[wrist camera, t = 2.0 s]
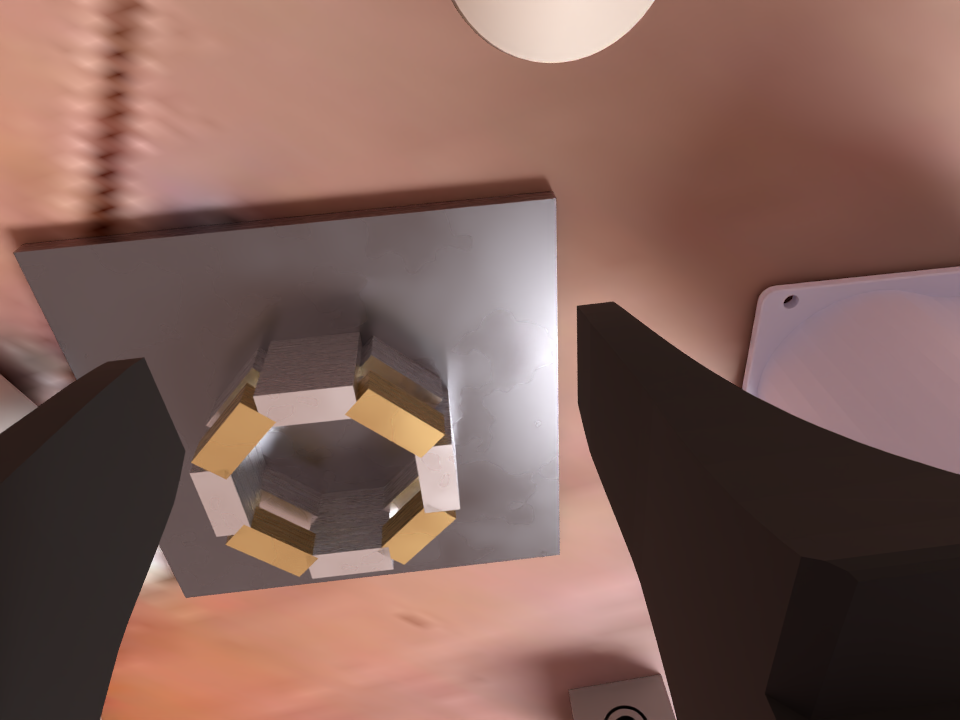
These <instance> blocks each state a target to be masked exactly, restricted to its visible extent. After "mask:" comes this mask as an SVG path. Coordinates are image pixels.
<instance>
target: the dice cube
mask: <svg viewBox="0 0 960 720" xmlns="http://www.w3.org/2000/svg"><path fill="white" fill-rule="evenodd" d="M569 696H570V703H571V709H572V715H573V720H676V719H675V716H674V713H673V710H672V707H671V704H670V701H669V698H668V695H667V691H666V688H665V685H664V682H663V679H662V676H661V674H659V675H653V676H647V677H641V678H636V679H630V680H624V681H618V682H612V683H606V684H600V685H594V686H589V687H583V688H577V689H571V690H569Z"/></svg>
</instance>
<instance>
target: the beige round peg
mask: <svg viewBox="0 0 960 720" xmlns="http://www.w3.org/2000/svg"><path fill="white" fill-rule="evenodd" d="M452 2H453V4H454V6H455V8H456V9H457V11H458V12H459V13H460V15H461V16H462V18H463V19H464V20H465V22H466V23H467V24H468V25H469V26H470V27H471V28H472V29H473V30H474V31H475V32H476V34H478V35H479V36H480V37H481V38H483V39H484V40H485V41H486V42H487V43H489V44H490V45H492V46H494V47H495V48H497V49H499V50H500V51H502V52H505V53H507V54H509V55H511V56H514V57H517V58H521V59H524V60H528V61H534V62H542V63H562V62H568V61H574V60H578V59H581V58H584V57H587V56H590V55H592V54H595V53H597V52H599V51H601V50H603V49H605V48H606V47H608V46H610V45H611V44H613V43H614V42H616V41H617V40H619V39H620V38H621V37H622V36H624V35H625V34H626V33H627V32H629V31H630V30H631V29H632V28H633V27H634V25H635V24H636V23H637V22H638V21H639V20H640V19H641V18H642V17H643V16H644V14H645V13H646V12H647V10H648V9H649V8H650V7H651V5H652V4H653V2H654V0H452Z"/></svg>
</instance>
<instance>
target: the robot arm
mask: <svg viewBox="0 0 960 720" xmlns="http://www.w3.org/2000/svg"><path fill="white" fill-rule="evenodd" d="M791 295H794V296H793V298H792V299H791V300H790V301H789V302H787V303H784V301H785V299H786V298H787V297H788V296H791ZM577 363H578V406H579V410H580V414H581V418H582V423H583V427H584V431H585V435H586V439H587V442H588V446H589V450H590V453H591V456H592V459H593V461H594V464H595V466H596V469H597V472H598V474H599V477H600V479H601V482H602V484H603V487H604V489H605V492H606V495H607V497H608V500H609V502H610V505H611V507H612V510H613V512H614V515H615V517H616V520H617V522H618V525H619V527H620V530H621V532H622V535H623V537H624V540H625V542H626V545H627V547H628V550H629V552H630V555H631V557H632V560H633V563H634V566H635V569H636V572H637V574H638V577H639V580H640V583H641V587H642V590H643V594H644V597H645V601H646V604H647V608H648V612H649V615H650V619H651V622H652V626H653V629H654V633H655V637H656V640H657V644H658V648H659V652H660V655H661V659H662V663H663V667H664V671H665V674H666V678H667V682H668V686H669V689H670V693H671V697H672V701H673V705H674V709H675V713H676V717H677V720H960V266H958V267H948V268H939V269H929V270H920V271H910V272H901V273H891V274H882V275H872V276H863V277H853V278H843V279H834V280H824V281H815V282H805V283H796V284H786V285H777V286H772V287H769V288H767V289H766V290H764V291H763V292H762V293H761V294H760V296H759V299H758V302H757V308H756V314H755V319H754V325H753V330H752V336H751V342H750V347H749V353H748V358H747V364H746V369H745V375H744V381H743V386H742V389H741V388H739V387H737V386H735V385H734V384H732V383H730V382H729V381H727V380H725V379H724V378H722V377H721V376H719V375H717V374H716V373H714V372H712V371H711V370H709V369H707V368H706V367H704V366H703V365H701V364H700V363H698V362H696V361H695V360H693V359H692V358H690V357H689V356H687V355H686V354H684V353H683V352H682V351H680V350H679V349H677V348H676V347H674V346H673V345H672V344H670V343H669V342H667V341H666V340H665V339H663V338H662V337H660V336H659V335H658V334H656V333H655V332H654V331H652V330H651V329H650V328H648V327H647V326H646V325H644V324H643V323H642V322H640V321H639V320H638V319H636V318H635V317H634V316H632V315H631V314H630V313H628V312H627V311H626V310H624V309H623V308H622V307H620V306H619V305H617V304H616V303H615V302H606V303H598V304H589V305H581V306H577ZM184 456H185V449H184V446H183V444H182V442H181V439H180V437H179V435H178V433H177V430H176V428H175V426H174V424H173V421H172V419H171V417H170V415H169V412H168V410H167V408H166V405H165V403H164V401H163V399H162V396H161V394H160V392H159V390H158V387H157V385H156V383H155V381H154V378H153V376H152V374H151V372H150V369H149V367H148V365H147V362H146V360H145V358H144V357H142V358H133V359H125V360H116V361H108V362H106V363H104V364H102V365H100V366H98V367H96V368H95V369H93V370H91V371H90V372H88V373H87V374H85V375H84V376H82V377H80V378H79V379H77V380H76V381H74V382H73V383H71V384H70V385H69V386H67V387H66V388H64V389H63V390H61V391H60V392H58V393H57V394H56V395H54V396H53V397H51V398H50V399H48V400H47V401H46V402H44V403H43V404H41V405H40V406H39V407H37V408H36V409H34V410H33V411H31V412H30V413H29V414H27V415H26V416H24V417H23V418H22V419H20V420H19V421H17V422H16V423H14V424H13V425H12V426H10V427H9V428H7V429H6V430H5V431H3V432H2V433H0V720H100V718H101V714H102V709H103V706H104V702H105V698H106V695H107V691H108V687H109V683H110V680H111V676H112V672H113V669H114V665H115V661H116V657H117V654H118V650H119V647H120V644H121V641H122V638H123V635H124V633H125V630H126V627H127V624H128V621H129V618H130V616H131V613H132V611H133V608H134V606H135V603H136V601H137V598H138V596H139V593H140V591H141V588H142V585H143V583H144V580H145V578H146V575H147V573H148V570H149V568H150V565H151V563H152V560H153V558H154V555H155V552H156V550H157V547H158V545H159V542H160V540H161V537H162V534H163V532H164V529H165V527H166V524H167V521H168V519H169V516H170V513H171V510H172V508H173V505H174V502H175V498H176V493H177V489H178V485H179V481H180V476H181V471H182V466H183V461H184Z"/></svg>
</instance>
